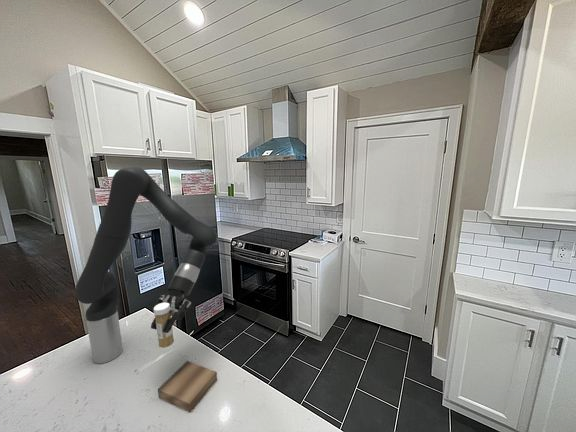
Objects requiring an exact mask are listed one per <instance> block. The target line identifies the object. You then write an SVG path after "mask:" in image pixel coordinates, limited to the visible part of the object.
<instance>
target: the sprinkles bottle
mask: <svg viewBox="0 0 576 432" xmlns="http://www.w3.org/2000/svg"><path fill="white" fill-rule="evenodd" d="M153 308H154V312H153V314H154V318H155V319H156V328H157V329H156V334H157V338H158V346H159V348H161V349H163V348H164V349H165V348H168V347H170V346H172V344H174V342H175V339H174V334H173V327H172V328H171V330H170V331H169V332H168V333H165V332H162V330H163V328H164V326H165V324H166V321H167V319H169V315H170V304H169V303H160V304H158V305H156V306H155V307H154V306H153Z"/></svg>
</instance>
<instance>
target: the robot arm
mask: <svg viewBox="0 0 576 432" xmlns="http://www.w3.org/2000/svg"><path fill="white" fill-rule="evenodd" d="M140 196H141V197H143V198H144V199H146V200H147V201H149V202H150V203H151V204H152V205H153V206H154V207H155V208H156V209H157V210H158V212H159V213H160V214H161V216H162V217H163V218H164V219H165V220H166V221H167V222H168V223H169V224H170V225H172V226H173V227H174V228H176V229H177V230H178V231H179V232H181V233H182V234H183V235H190V236H192V239H191V241H190V243H189V246H188V250H187V251H186V254H185V255H184V258H183V260H182V261H181V263H180V265H179V266H178V268H177V269H176V271H175V273H174V275H173V277H172V279H171V281H170V283H169V285H168V288H167V289H168V291H167V292H166V293H165V294H160V293H159V294H157V296H156V298H155V303H154V306H153V309H152V313H154V307H155V306H156V305H158V304H160V303H169V304H170V315H169V319H167V321H166V324H165V326H164V328H163V330H162V332H165V333H168V332H169V331H170V330H171V328H172V329H173V325H174V323H175V322H176V321H178V320H179V321H181V320H182V319H183V318H184V316H185V315H186V313H187V312H188V311H190V310H189V309H190V308H191V307H192V305H193V303H192V301H190V300H188V296H189V295H191V292H192V290H193V288H194V286H195V284H196V282H197V279H198V278H199V274H200V273H201V272H200V271H201V269H202V267H203V265H204V263H205V260H206V256H205V254H206V252H207V249H208V248H209V247H212V246H214V245H215V244H216V242H217V240H218V236H217V233H216V231H215V230H214V229H213V228H212V227H210V226H209V225H208V224H206V223H203V222H202V221H200V220H198V219H196V218H195V217H194V216H193V215H192V214H191V213H189V212H188V211H187V210H186V209H185V208H183V207H182V206H180V205H179V204H178V203H177V202H176V201H175V200H174V199H173V198H171V196H169V195H168V194H167V193H166V192H165V191H164V190H163V189H162V188H161V187H160V186H159V185H158V183H157V182H156V181H155V179H154V178H152V176H151V175H150V174H149V173H148V172H147V171H146V170H145V169H143V168H141V167H138V166H129V167H123V168H121V169H119V170H117V171H116V172H115V173H114V175H113V176H112V180H111V185H110V190H109V196H108V200H107V203H106V207H105V210H104V212H103V215H102V217H101V221H100V222H99V226H98V228H97V231H96V234H95V237H94V240H93V243H92V244H93V245H92V246H91V249H90V252H89V256H88V257H87V258H88V259H87V261H86V264H85V265H84V266H85V267H84V269H83V270H82V272H81V274H80V277H79V279H78V280H77V282H76V285H75V289H74V290H75V291H74V295H75V297H76V299H77V301H79V303H82V304H86V305H88V304H90V305H89V307H88V308H87V309H86V311H85V320H86V326H87V332H88V339H89V344H90V349H91V350H90V351H91V356H92V361H93V363H95V364H100V365H101V364H105V363H108V362H111V361H113V360H115V359H116V358H118V357H119V356H120V355H121V354H122V352H123V351H124V347H123V341H122V340H123V339H122V334H121V325H120V319H119V313H118V305H119V299H120V298H119V287H118V281H117V278H116V276H115V275H114V274H113V273H112V272H111V271H110V269H111V267H112V266H113V265H114V263H115V262H116V261H117V259H118V258H119V257H120V256H121V254H122V253H123V251H124V250H125V248H126V246H127V244H128V241H129V238H130V234H131V232H132V226H133V225H132V214H133V211H134V207H135V205H136V203H137V201H138V198H139V197H140ZM150 324H151V325H150V329H152V330H155V331H157V328H156V319H155V317H154V319H153V320H152V323H150Z"/></svg>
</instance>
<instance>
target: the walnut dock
mask: <svg viewBox="0 0 576 432" xmlns="http://www.w3.org/2000/svg"><path fill="white" fill-rule="evenodd" d="M217 374H218V373H217V371H215V370H213V369H210V368H207V367H204V366H202V365H199V364H196V363H194V362H192V361H191V362H190V361H189V360H186V361H185V362H184V363H183V364H182V365H181V366H180V367H178V368H177V370H176V371H174V373H172V375H171V376H169V377H168V378H167V380H165V381H164V382H163V383H162V384H161V385H160V386H159V387H158V388H157V394H158V399H161V400H162V401H165V402H166V403H169V404H171V405H173V406H176V407H178V408H180V409H182V410H184V411H186V412H188V413H192V411H193V410H194V409H195V408H196V406H197V405H198V404H199V403H200V401H201V400H202V399H203V398H204V396H205V395H206V394H207V393H208V392H209V390H210V389H211V388H212V386H213V385H214V384H215V383H216V381H218V375H217Z"/></svg>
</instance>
